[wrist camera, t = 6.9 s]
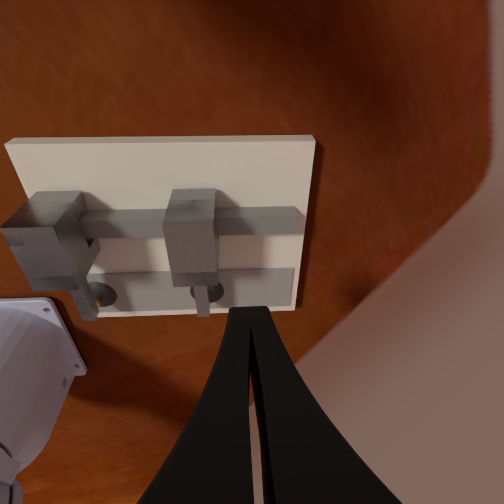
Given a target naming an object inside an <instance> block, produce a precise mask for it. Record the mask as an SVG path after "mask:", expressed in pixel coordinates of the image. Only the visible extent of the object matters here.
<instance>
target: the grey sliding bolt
mask: <svg viewBox="0 0 504 504" xmlns="http://www.w3.org/2000/svg"><path fill="white" fill-rule="evenodd" d="M216 209H217V200H216V188H205V189H173V190H172V193H171V196H170V199H169V203H168V206H167V209H166V213H165V216H164V219H163V223H162V228H163V233H164V239H165V244H166V249H167V255H168V260H169V266H170V271H171V277H172V282H173V287H194V294H195V301H196V309H197V316H198V317H208V316H210V294H209V289H208V286H218V269H219V236H217V222H216Z"/></svg>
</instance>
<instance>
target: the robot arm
mask: <svg viewBox="0 0 504 504" xmlns="http://www.w3.org/2000/svg"><path fill="white" fill-rule="evenodd" d="M86 372H87V368H86V366H85V364H84V362H83V360H82V358H81V356H80V354H79V352H78V350H77V348H76V346H75V344H74V342H73V340H72V338H71V336H70V334H69V332H68V330H67V328H66V326H65V324H64V322H63V320H62V318H61V316H60V314H59V312H58V310H57V308H56V306H55V304H54V302H53V301H52V300H51V299H50V298H46V297H40V298H10V299H0V504H22V499H23V493H22V487H21V484H20V483H19V482H18V481H16V480H14V479H15V477H16V474H17V473H18V472H20V471H21V470H23V469H24V468H25V467H27V466H28V465H29V464H30V463H31V462H32V461H33V460H34V459H35V458H36V457H37V456H38V455H39V453H40V452H41V451H42V449H43V448H44V447H45V445H46V443H47V441H48V439H49V437H50V435H51V432H52V430H53V428H54V425H55V423H56V420H57V418H58V415H59V413H60V411H61V408H62V406H63V403H64V401H65V398H66V396H67V394H68V391H69V389H70V386H71V384H72V382H73V379H74V377H75V376H82V375H85V374H86ZM250 374H251V381H252V388H253V395H254V402H255V409H256V416H257V423H258V430H259V438H260V449H261V464H262V482H263V498H264V504H402V503H401V502H400V500H399V499H398V498H397V497H396V496H395V495H394V494H393V493H392V492H391V491H390V490H389V489H388V488H387V487H386V486H385V485H384V484H383V482H381V480H380V479H379V478H378V477H377V476H376V475H375V474H374V473H373V472H372V470H371V469H370V468H369V467H368V466H367V465H366V464H365V462H364V461H363V460H362V459H361V458H360V457H359V456H358V454H357V453H356V452H355V451H354V450H353V448H352V447H351V446H350V445H349V443H348V442H347V441H346V440H345V438H344V437H343V436H342V435H341V433H340V432H339V431H338V430H337V428H336V427H335V426H334V425H333V423H332V422H331V421H330V419H329V418H328V417H327V415H326V414H325V412H324V411H323V410H322V408H321V407H320V405H319V404H318V402H317V401H316V399H315V398H314V397H313V395H312V394H311V392H310V390H309V389H308V388H307V386H306V384H305V383H304V381H303V379H302V378H301V376H300V374H299V373H298V371H297V369H296V367H295V366H294V364H293V362H292V360H291V358H290V356H289V354H288V353H287V351H286V349H285V347H284V345H283V343H282V341H281V339H280V336H279V334H278V332H277V329H276V327H275V325H274V322H273V319H272V316H271V314H270V310H269V308H268V307H267V306H245V307H231V308H230V309H229V311H228V319H227V324H226V329H225V333H224V336H223V340H222V343H221V346H220V349H219V352H218V355H217V358H216V361H215V363H214V366H213V368H212V371H211V373H210V375H209V378H208V380H207V383H206V385H205V387H204V390H203V392H202V394H201V396H200V398H199V400H198V402H197V404H196V406H195V408H194V410H193V412H192V414H191V416H190V418H189V420H188V422H187V424H186V426H185V427H184V429H183V431H182V433H181V435H180V436H179V438H178V440H177V442H176V443H175V445H174V447H173V448H172V450H171V452H170V453H169V455H168V457H167V458H166V460H165V461H164V463H163V465H162V466H161V468H160V469H159V471H158V473H157V474H156V476H155V477H154V479H153V480H152V482H151V484H150V485H149V486H148V488H147V489H146V491H145V492H144V494H143V495H142V497H141V498H140V500H139V501H138V502H137V504H254V493H253V478H252V461H251V445H250V426H249V385H250Z"/></svg>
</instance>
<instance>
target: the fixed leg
mask: <svg viewBox="0 0 504 504" xmlns="http://www.w3.org/2000/svg"><path fill="white" fill-rule="evenodd" d="M86 207H87V206H86V203H85V200H84V197H83V194H82V191H37V192H36V193H34V194H33V195H32V196H31V197H30V198H29V199H28V200H27V201H26V202H25V203H24V204H23V205H22V206H21V207H20V208H19V209H18V210H17V211H16V212H15V213H14V214H13V215H12V216H11V217H10V218H9V219H8V220H7V221H6V222H5V223H4V224H3V225H2V226H1V227H0V231H1V233H2V234H3V236H4V238H5V240H6V242H7V244H8V246H9V247H10V249H11V251H12V253H13V255H14V257H15V259H16V260H17V262H18V264H19V266H20V268H21V270H22V272H23V273H24V275H25V277H26V279H27V281H28V283H29V285H30V286H31V288H32V290H33V292H36V291H68V290H69V291H70V293H71V295H72V298H73V300H74V302H75V304H76V307H77V309H78V311H79V313H80V315H81V318H82V320H83V321H96V318H97V316H98V314H99V307H100V305H101V303H102V300H103V299H102V297H101V296H99V295H94V296H93V294H92V291H91V289H90V286H89V283H88V281H87V278H86V277H87V275H88V273H89V271H90V269H91V267H92V265H93V263H94V261H95V259H96V257H97V255H98V254H99V252H100V250H101V248H100V245H99V242H98V239H86V238H85V235H84V232H83V230H82V227H81V224H80V221H79V217H80V216H81V214H82V213H83V211H84V210H85V208H86Z"/></svg>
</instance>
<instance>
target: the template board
mask: <svg viewBox="0 0 504 504" xmlns="http://www.w3.org/2000/svg"><path fill="white" fill-rule="evenodd" d="M315 142H316V141H315V139H314V138H313V136H312V135H261V136H157V137H53V138H13V139H12V140H10V141H9V142H7V143H5V144H4V145H5V147H6V150H7V152H8V154H9V156H10V158H11V161H12V163H13V165H14V167H15V170H16V172H17V174H18V176H19V179H20V181H21V183H22V185H23V188H24V190H25V192H26V194H27V197H28V199H29V198H30V197H31V196H32V195H33V194H34V193H36V192H37V191H82V194H83V197H84V200H85V203H86V206H87V207H86V208H85V210H84V211H83V213H82V214H81V216H80V217H79V221H80V224H81V227H82V230H83V232H84V235H85V238H86V239H98V242H99V245H100V248H101V250H100V252H99V254H98V255H97V257H96V259H95V261H94V263H93V265H92V267H91V269H90V271H89V273H88V275H87V277H86V278H87V281H88V283H89V286H90V289H91V291H92V294H93V296H94V295H99V296H101V297H102V299H103V300H102V303H101V305H100V307H99V314H98V316H97V317H118V316H146V315H174V314H197V309H196V301H195V294H194V287H173V282H172V277H171V271H170V266H169V260H168V255H167V249H166V244H165V239H164V233H163V228H162V223H163V219H164V216H165V213H166V209H167V206H168V203H169V199H170V196H171V193H172V190H173V189H205V188H216V200H217V209H216V222H217V236H219V269H218V286H208V289H209V294H210V313H228V311H229V309H230V308H231V307H245V306H267V307H268V308H269V310H270V311H286V310H295V304H296V296H297V287H298V279H299V271H300V263H301V255H302V247H303V239H304V231H305V223H306V215H307V207H308V199H309V191H310V183H311V175H312V167H313V159H314V151H315Z"/></svg>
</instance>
